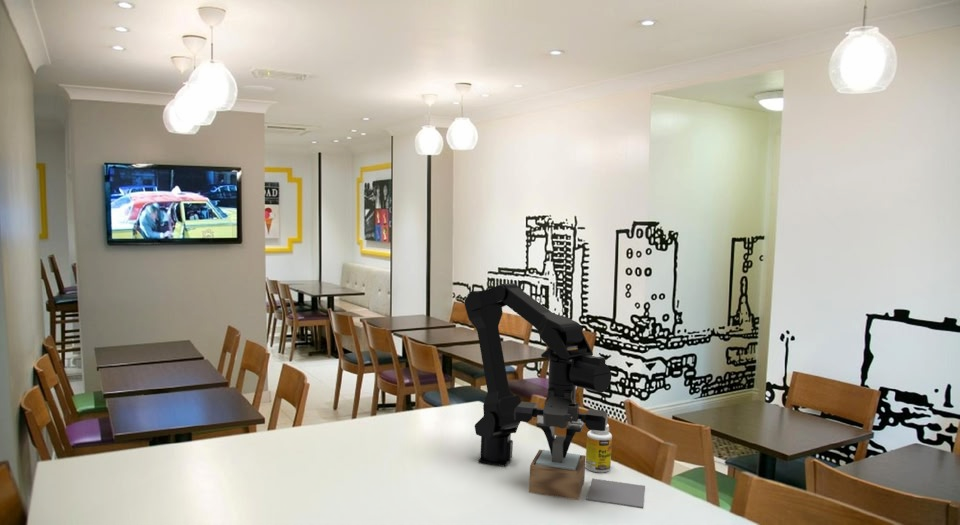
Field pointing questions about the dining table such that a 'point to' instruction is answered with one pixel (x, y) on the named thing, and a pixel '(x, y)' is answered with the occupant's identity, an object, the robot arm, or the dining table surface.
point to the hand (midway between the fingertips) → (558, 456)
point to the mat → (616, 493)
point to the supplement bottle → (598, 450)
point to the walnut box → (557, 479)
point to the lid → (558, 456)
